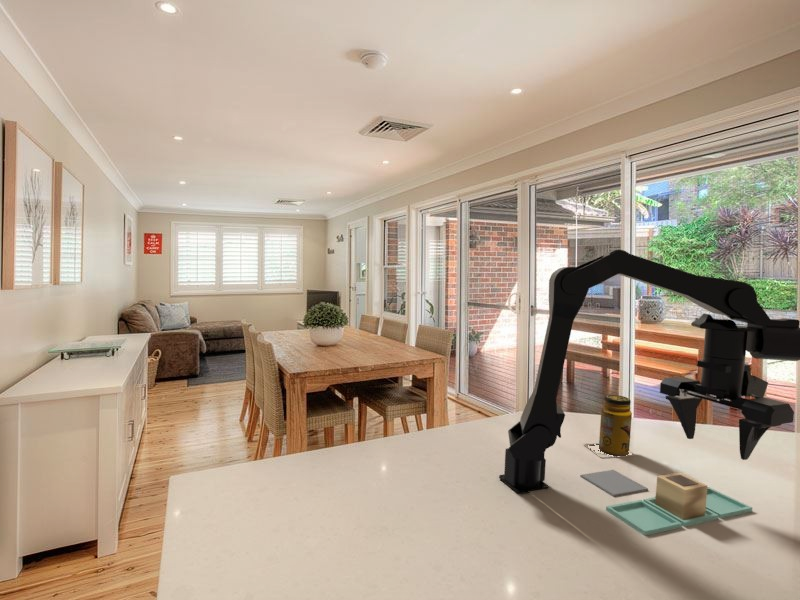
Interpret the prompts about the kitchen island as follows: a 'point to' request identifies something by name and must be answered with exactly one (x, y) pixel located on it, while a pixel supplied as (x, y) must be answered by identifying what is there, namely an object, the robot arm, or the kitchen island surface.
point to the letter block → (681, 495)
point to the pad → (613, 483)
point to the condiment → (614, 427)
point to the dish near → (643, 517)
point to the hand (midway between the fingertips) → (715, 448)
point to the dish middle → (708, 517)
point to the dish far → (724, 504)
